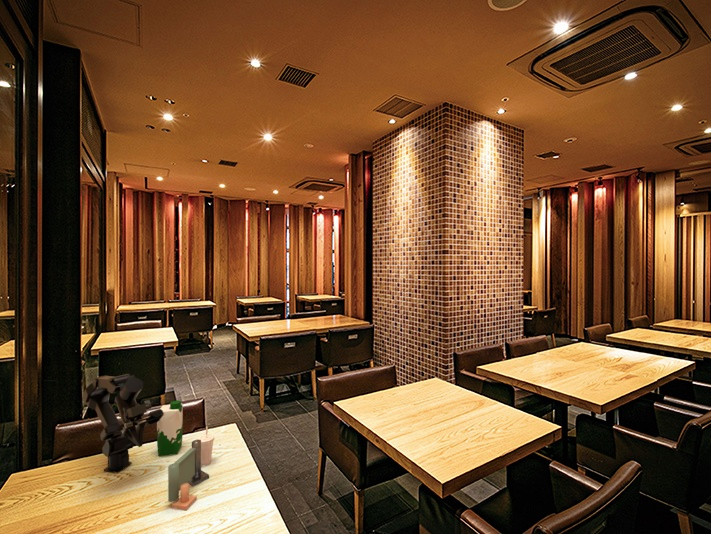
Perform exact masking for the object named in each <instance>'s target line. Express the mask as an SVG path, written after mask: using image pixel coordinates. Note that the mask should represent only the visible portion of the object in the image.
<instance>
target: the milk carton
mask: <svg viewBox="0 0 711 534" xmlns="http://www.w3.org/2000/svg"><path fill="white" fill-rule="evenodd" d="M183 406H184V404H183V403H182V401H181V400H173V401H170V403H169V404H164V405H162V406H161V407H160V408H159V409H161V410H163V413H164V415H163V416H162V418H161V419H160V421H158V422H156V445H157V447H156V449H157V457H158V456H159V457H165V456H166V457H167V456H175V455H178V454H179V452H180V450H181V448H182V445H183V411H184V410H183Z"/></svg>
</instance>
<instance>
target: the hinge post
mask: <svg viewBox="0 0 711 534" xmlns="http://www.w3.org/2000/svg"><path fill="white" fill-rule="evenodd" d="M191 448H196V452H195V475H194V476H193V477H192V478H191V479H190V480H189V481H188V482H187V483H189V486H191V487H192V488H194V487H196V486H198V485H199V484H201V483H203V482H205V481H207V480H208V479H210V474H209V473H207V472H205V471H203V470H202V465H201V440H197V439H195V440H192V441H191Z"/></svg>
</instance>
